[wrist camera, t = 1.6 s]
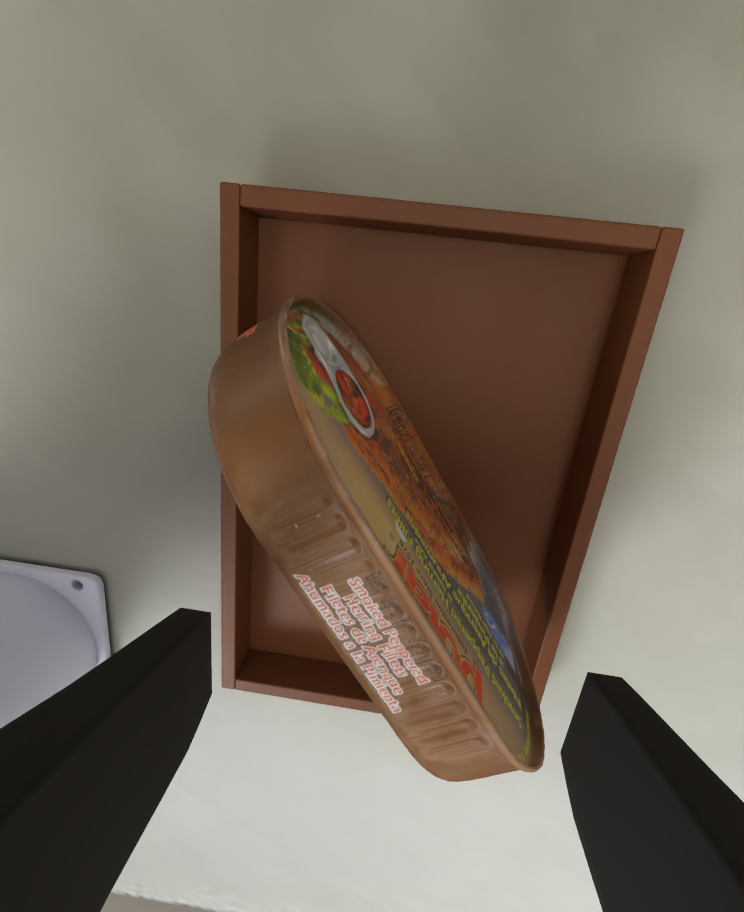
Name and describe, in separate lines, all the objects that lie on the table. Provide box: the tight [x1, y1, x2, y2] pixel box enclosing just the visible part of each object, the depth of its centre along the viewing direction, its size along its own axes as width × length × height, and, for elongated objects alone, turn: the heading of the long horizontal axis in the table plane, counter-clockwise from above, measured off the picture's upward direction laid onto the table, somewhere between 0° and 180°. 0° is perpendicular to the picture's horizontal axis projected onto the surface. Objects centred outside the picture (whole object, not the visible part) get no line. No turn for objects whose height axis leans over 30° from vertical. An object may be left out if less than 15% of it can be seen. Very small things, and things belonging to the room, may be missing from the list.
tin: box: [208, 294, 545, 782], centre depth 14 cm, size 15×3×8 cm, turn 30°
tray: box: [220, 182, 684, 713], centre depth 17 cm, size 13×19×2 cm
